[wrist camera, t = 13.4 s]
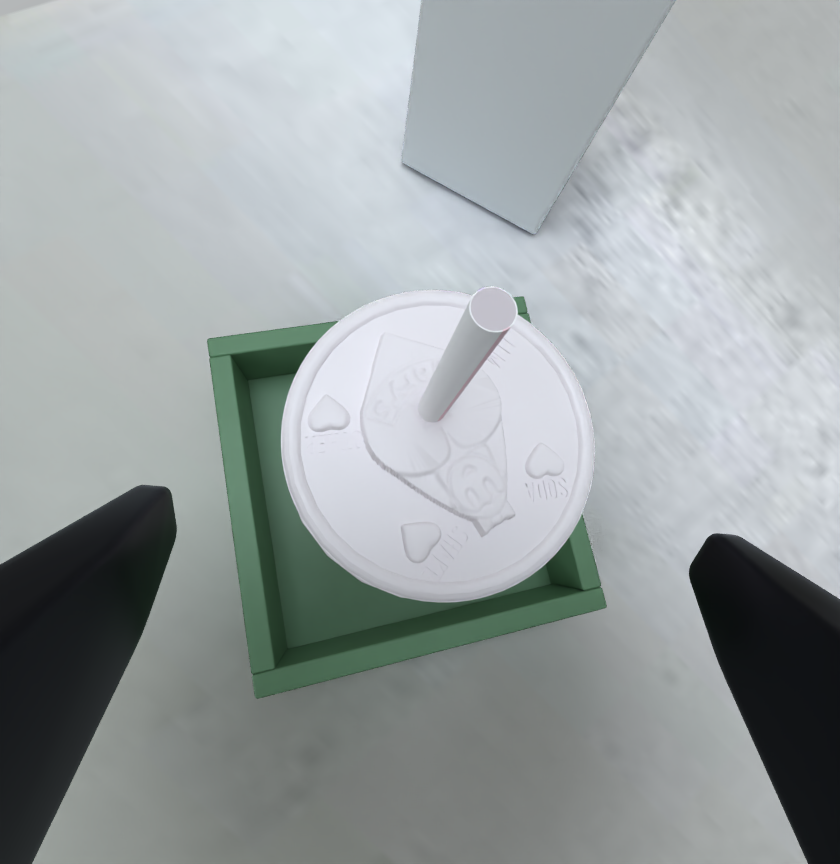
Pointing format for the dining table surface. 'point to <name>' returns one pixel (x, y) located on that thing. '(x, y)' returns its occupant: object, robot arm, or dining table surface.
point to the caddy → (321, 576)
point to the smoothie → (438, 445)
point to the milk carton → (518, 93)
